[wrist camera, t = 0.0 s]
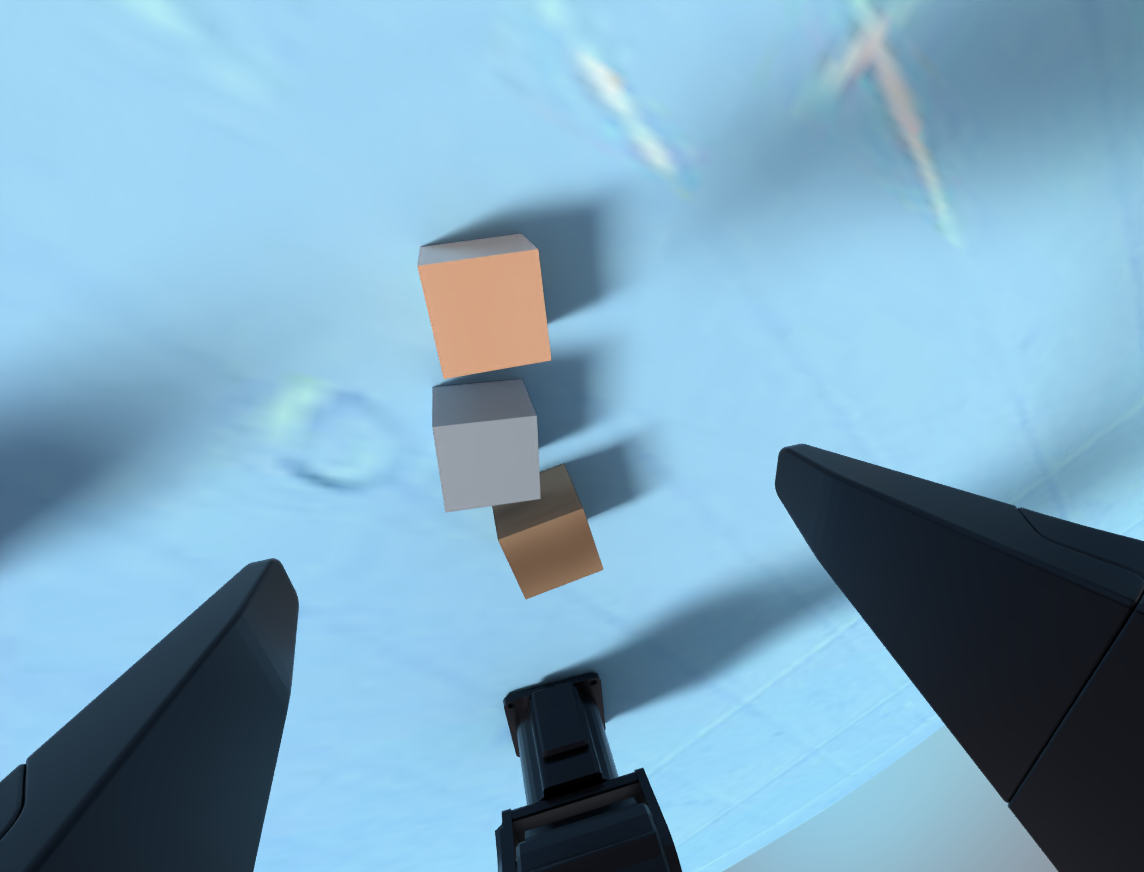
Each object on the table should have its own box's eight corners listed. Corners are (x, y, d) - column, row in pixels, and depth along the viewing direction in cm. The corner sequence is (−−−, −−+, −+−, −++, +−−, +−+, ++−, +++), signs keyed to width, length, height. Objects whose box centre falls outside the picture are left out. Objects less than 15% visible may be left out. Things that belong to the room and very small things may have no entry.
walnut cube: (583, 519, 29) (603, 569, 25) (514, 545, 28) (525, 599, 25) (563, 462, 26) (582, 508, 23) (489, 489, 26) (497, 539, 23)
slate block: (526, 452, 26) (540, 498, 22) (443, 463, 25) (445, 512, 21) (521, 377, 24) (536, 415, 20) (432, 386, 23) (432, 427, 20)
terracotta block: (533, 329, 23) (551, 360, 19) (442, 343, 22) (443, 378, 19) (521, 233, 21) (538, 249, 17) (419, 246, 20) (417, 265, 17)
